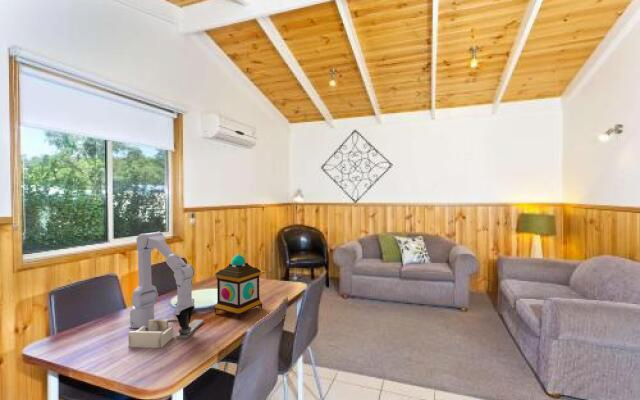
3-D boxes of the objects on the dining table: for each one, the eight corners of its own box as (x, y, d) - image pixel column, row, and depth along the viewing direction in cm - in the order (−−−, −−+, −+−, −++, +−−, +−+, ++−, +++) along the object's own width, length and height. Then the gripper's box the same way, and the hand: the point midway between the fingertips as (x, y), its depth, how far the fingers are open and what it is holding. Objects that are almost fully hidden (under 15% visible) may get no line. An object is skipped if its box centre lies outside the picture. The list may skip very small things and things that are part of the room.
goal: (128, 347, 125) (128, 332, 125) (142, 336, 134) (142, 322, 134) (161, 347, 125) (160, 332, 124) (173, 337, 134) (172, 323, 134)
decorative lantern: (239, 322, 149) (238, 260, 149) (210, 314, 159) (209, 256, 158) (266, 309, 166) (265, 253, 166) (238, 302, 176) (238, 249, 176)
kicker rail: (176, 338, 133) (176, 335, 133) (194, 322, 150) (194, 319, 150) (186, 338, 132) (186, 335, 132) (203, 322, 149) (203, 319, 149)
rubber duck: (149, 344, 127) (149, 325, 127) (143, 339, 132) (143, 320, 132) (163, 339, 131) (163, 321, 131) (157, 335, 136) (157, 316, 136)
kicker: (148, 336, 134) (148, 315, 134) (153, 332, 138) (153, 312, 138) (187, 336, 133) (186, 316, 133) (191, 333, 137) (191, 313, 137)
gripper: (185, 299, 128) (185, 332, 128) (200, 289, 142) (201, 318, 142) (168, 299, 128) (169, 332, 128) (185, 288, 143) (185, 318, 143)
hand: (184, 325), depth 135 cm, fingers open, 3 cm apart
